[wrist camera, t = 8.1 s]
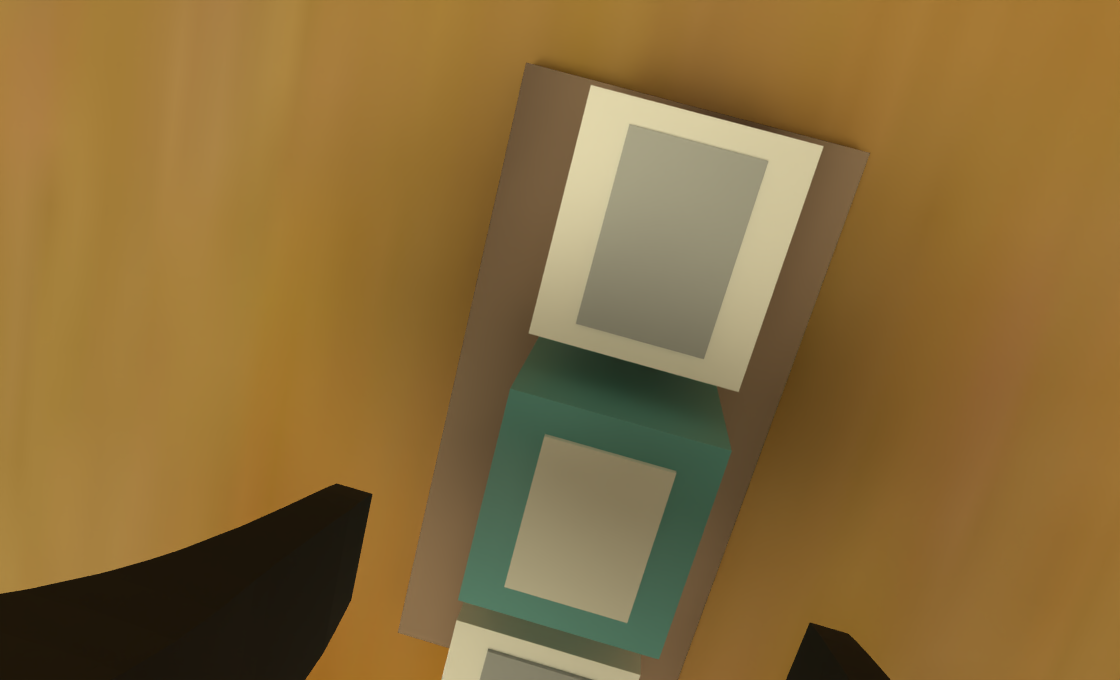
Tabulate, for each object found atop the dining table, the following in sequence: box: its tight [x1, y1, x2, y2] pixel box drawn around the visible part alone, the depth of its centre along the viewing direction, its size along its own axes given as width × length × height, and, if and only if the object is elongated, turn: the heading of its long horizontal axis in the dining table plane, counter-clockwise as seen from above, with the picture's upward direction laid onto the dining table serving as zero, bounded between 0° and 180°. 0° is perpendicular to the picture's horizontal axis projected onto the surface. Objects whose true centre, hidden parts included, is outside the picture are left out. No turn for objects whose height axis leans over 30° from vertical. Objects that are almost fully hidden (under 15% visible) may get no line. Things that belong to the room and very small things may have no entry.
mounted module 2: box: [529, 85, 824, 392], centre depth 15 cm, size 4×4×4 cm
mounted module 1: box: [442, 602, 641, 680], centre depth 18 cm, size 4×4×4 cm
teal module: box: [458, 336, 732, 660], centre depth 16 cm, size 4×4×5 cm
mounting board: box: [398, 63, 870, 680], centre depth 20 cm, size 8×16×2 cm, turn 166°
